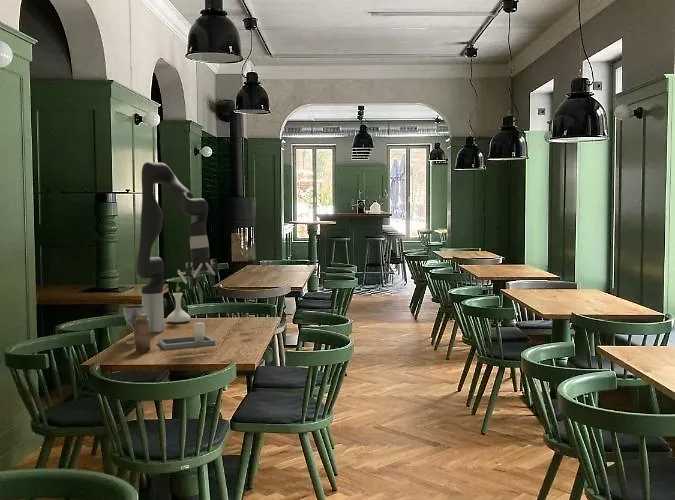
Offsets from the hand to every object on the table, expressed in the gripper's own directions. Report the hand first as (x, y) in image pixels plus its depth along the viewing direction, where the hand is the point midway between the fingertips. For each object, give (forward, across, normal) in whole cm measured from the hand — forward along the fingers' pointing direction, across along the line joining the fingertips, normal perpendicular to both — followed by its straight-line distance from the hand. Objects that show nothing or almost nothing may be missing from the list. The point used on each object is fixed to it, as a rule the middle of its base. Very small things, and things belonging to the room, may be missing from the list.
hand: (203, 285), depth 308 cm
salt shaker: (+22, +8, +5) cm, 24 cm away
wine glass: (+21, +24, -19) cm, 37 cm away
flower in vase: (+20, -16, -52) cm, 58 cm away
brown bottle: (+21, +29, -1) cm, 36 cm away
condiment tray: (+23, +13, +4) cm, 26 cm away
